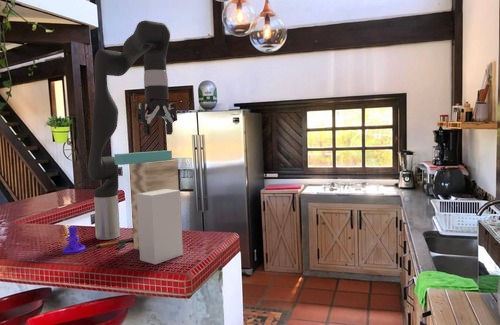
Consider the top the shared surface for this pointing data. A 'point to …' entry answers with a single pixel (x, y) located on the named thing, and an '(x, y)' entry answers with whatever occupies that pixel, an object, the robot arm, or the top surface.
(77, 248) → the figurine
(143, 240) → the white tall block
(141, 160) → the teal long bar
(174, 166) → the stand
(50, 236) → the top surface
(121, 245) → the toy rifle
